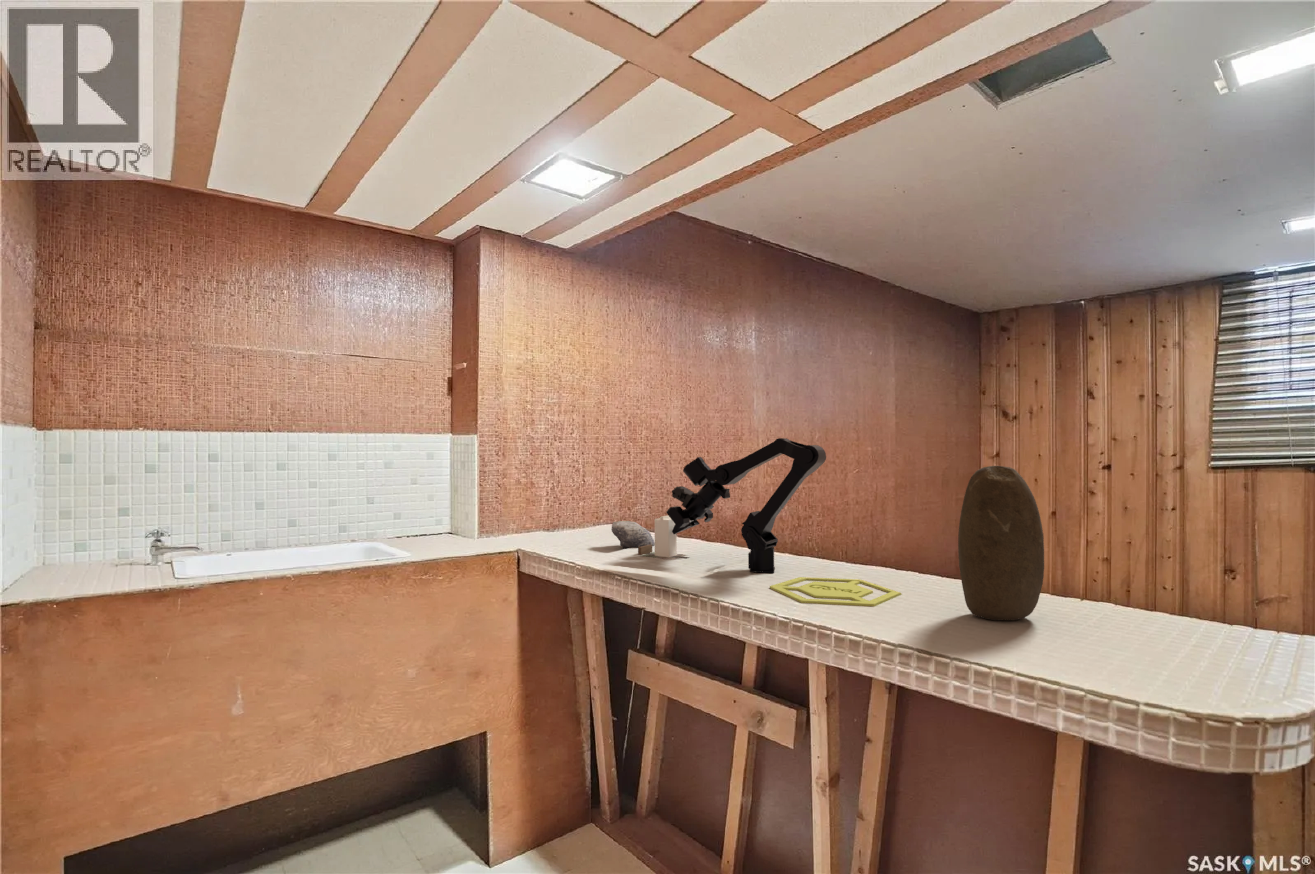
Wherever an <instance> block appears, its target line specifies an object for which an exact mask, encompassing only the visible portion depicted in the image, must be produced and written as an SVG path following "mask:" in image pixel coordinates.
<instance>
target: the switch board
mask: <svg viewBox="0 0 1315 874" xmlns="http://www.w3.org/2000/svg"><path fill="white" fill-rule="evenodd" d="M637 552H638V553H637V555H638V556H640V557H648V558H653V559H654V558H656V559H664V560H670V561H671V560H675V559H685V560H686V559H689V558H691V557H690V556H689V557H688V556H687V554H681V553H677V555H676V556H672V557H660V556H655V551H653V546H652V545H645V546H641V547H638V548H637Z"/></svg>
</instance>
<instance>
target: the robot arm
mask: <svg viewBox="0 0 1315 874" xmlns="http://www.w3.org/2000/svg"><path fill="white" fill-rule="evenodd" d="M782 455H785V456H786V457H789V458H791V459H793V461H792V464H791V468H790V470H789V472H788V474H787V475H786V476H785V478H783V480H782V481H781V483H780V484H779V485H778V487H777V488H776V489H775V491H774V492H773V494H772V495H771V496H770V498H769V499H768V501H767V502H766V503H765V505H764V506H763V507H762V508H761V509H760V510H756V511H750V512H749V514H748V516H747V518H746V520H745V521H743V522H741V524H742V527H741V531H740V532H741V536H742V538H743V540H744V541H745V544H746V546H747V549H748V550H750V551H749V552H748V555H747V558H748V559H747V560H748V561H747V562H748V564H747V566H748V569H749V572H750V573H768V574H770V573H773V574H774V573H775V569H776V567H775V547H777V545H778V541H779V539H778V538H777V537H776V535H775V534H773V532H772V530H773V528H774V524H775V521H776V518H777V517H778V516H779V514H780V513H781V511H782V510H783V509H784V508H785V506H786V505H787V503H788V502H789V500H790V499H792V496H793V495H794V494H795V492H797V490H798V489H799V488H800V486H801V485H802V483H803V482H804V481H805V480H806V479H807V478H808V477H809V476H811V475H812V474H813V473H814V472H816V471H817V470H818V469H819V468H820V467H821V466H823V464H825V462H826V459H827V453H826V451H825V449H824V448H823V447H822V446H820V445H817V444H808V445H807V444H803V443H800V442H796V441H793V440H790V439H788V438H784V437H783V438H782V437H779V438H776V439H775V440H773V441H772V442H771V443H769V444H767V445H765V446H763V447H761V448H759V449H758V450H756V451H754V452H751V453H750V454H748V455H747V456H745V457H742V458H741V459H737V460H734V461H730V462H726V463H722V464H719V465H718V466H717V467H716V466H715V467H716V468H710V466H709V465H708V464H707V463H706V462H705V460H704V459H703V457H701V456H697V457H696V458H695V459H693V460H692V461H691V462H689V463H687V464H686V465H685V466H684V467H683V470H682V472H683V473H684V474H685V476H686V477H687V478H688V479H689V481H691V482H692V485H694V486H695V487H696V486H699V487H701V488H700V489H699V490H698V492H694V491H692V490H691V489H689V488H687V487H685V486H682V485H681V486H675V487H674V489H672V490H671V495H672V498H673V499H676V500H678V501H679V502H681V506H679V505H676V506H675V505H674V506H670V507H669V508H668V509H667V510H666V514H667V516H668V515H669V517H670V518H671V519H672V521H673V522H674V523H675V526H674V528H673V530H672V533H673V534H678V533H681V532H684V531H686V530H688V529H691V528H693V527H696V526H699V525H700V522H699V521H698V520H700V519H704V522H705V523H709V522H710V521H712V519H713V518H714V512H713V511H712V510H713V509H714V504H715V503H716V502H717V501H718V500H719V499H720V498H722V499H724V500H725V499H730V498H731V493H730V490H731V489H730V488H726V487H725V486H729V485H735V484H737V483H739V482H740V481H741V480H743V479H744V478H745V477H746V476H747V475H748V474H749V473H750V472H751V471H753V470H755V469H757V468H758V467H761V466H762V465H764V464H765V463H768V462H771V461H772V460H774V459H776V458H777V457H780V456H782ZM682 507H683V508H684V509H683V508H682Z"/></svg>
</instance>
